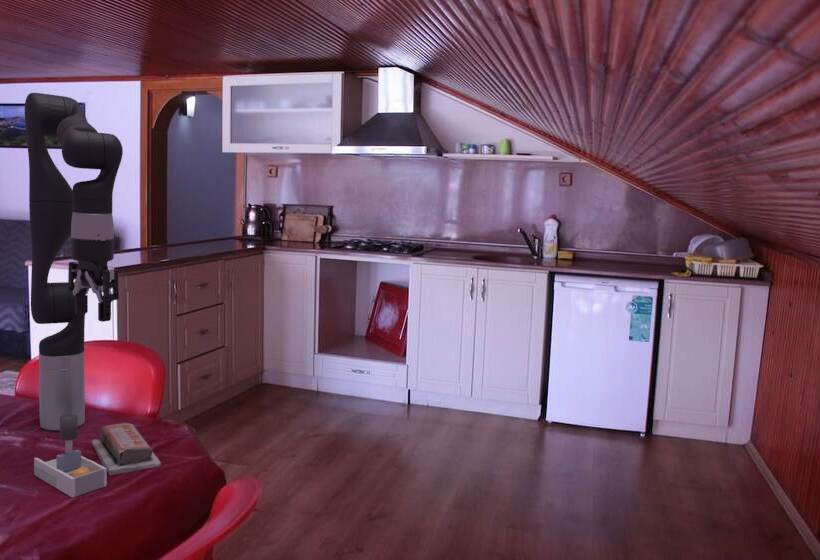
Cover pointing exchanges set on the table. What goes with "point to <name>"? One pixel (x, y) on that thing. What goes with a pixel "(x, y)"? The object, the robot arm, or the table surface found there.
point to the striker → (68, 443)
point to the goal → (82, 480)
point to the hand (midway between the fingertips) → (92, 317)
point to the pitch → (52, 470)
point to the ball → (80, 471)
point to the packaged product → (124, 449)
